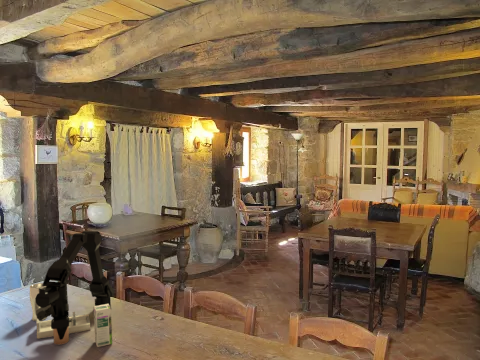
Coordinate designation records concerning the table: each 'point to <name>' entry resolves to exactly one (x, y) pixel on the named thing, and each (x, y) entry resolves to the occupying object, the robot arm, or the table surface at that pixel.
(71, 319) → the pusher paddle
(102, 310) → the syrup box
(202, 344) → the table surface
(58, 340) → the terracotta jar
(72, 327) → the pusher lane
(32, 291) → the beer glass
